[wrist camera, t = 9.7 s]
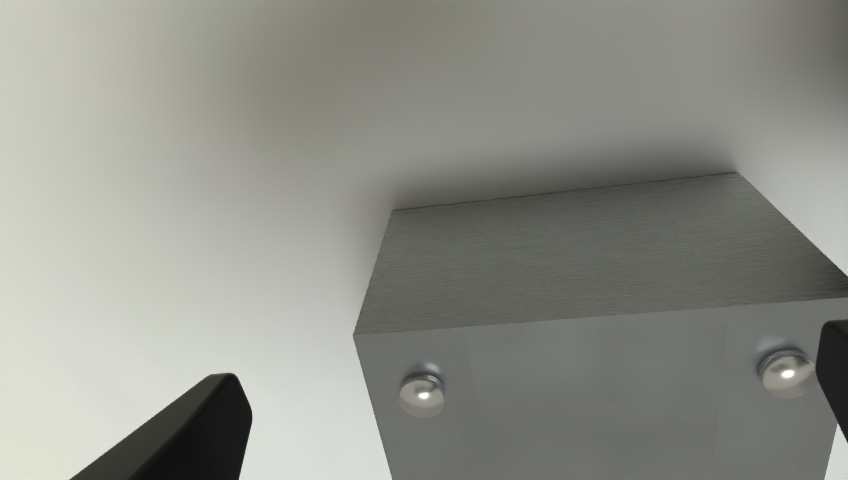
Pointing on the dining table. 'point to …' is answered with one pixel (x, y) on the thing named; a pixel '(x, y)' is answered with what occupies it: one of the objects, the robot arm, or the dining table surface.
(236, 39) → the dining table surface
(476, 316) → the block
